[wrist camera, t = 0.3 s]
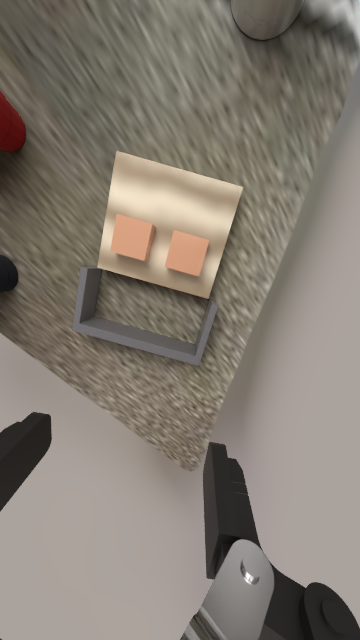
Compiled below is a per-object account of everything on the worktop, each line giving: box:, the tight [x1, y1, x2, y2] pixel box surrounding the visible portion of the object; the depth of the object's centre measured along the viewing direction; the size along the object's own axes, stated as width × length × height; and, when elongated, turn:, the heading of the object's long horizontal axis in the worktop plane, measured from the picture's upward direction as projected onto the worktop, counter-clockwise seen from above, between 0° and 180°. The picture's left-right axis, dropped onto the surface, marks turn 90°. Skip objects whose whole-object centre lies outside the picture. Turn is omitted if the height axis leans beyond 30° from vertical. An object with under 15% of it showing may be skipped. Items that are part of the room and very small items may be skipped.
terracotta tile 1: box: [110, 214, 156, 261], centre depth 30 cm, size 5×5×2 cm
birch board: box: [97, 151, 243, 299], centre depth 32 cm, size 16×18×3 cm
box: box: [72, 267, 218, 366], centre depth 35 cm, size 10×21×5 cm, turn 75°
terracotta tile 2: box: [165, 230, 209, 276], centre depth 30 cm, size 5×5×2 cm
